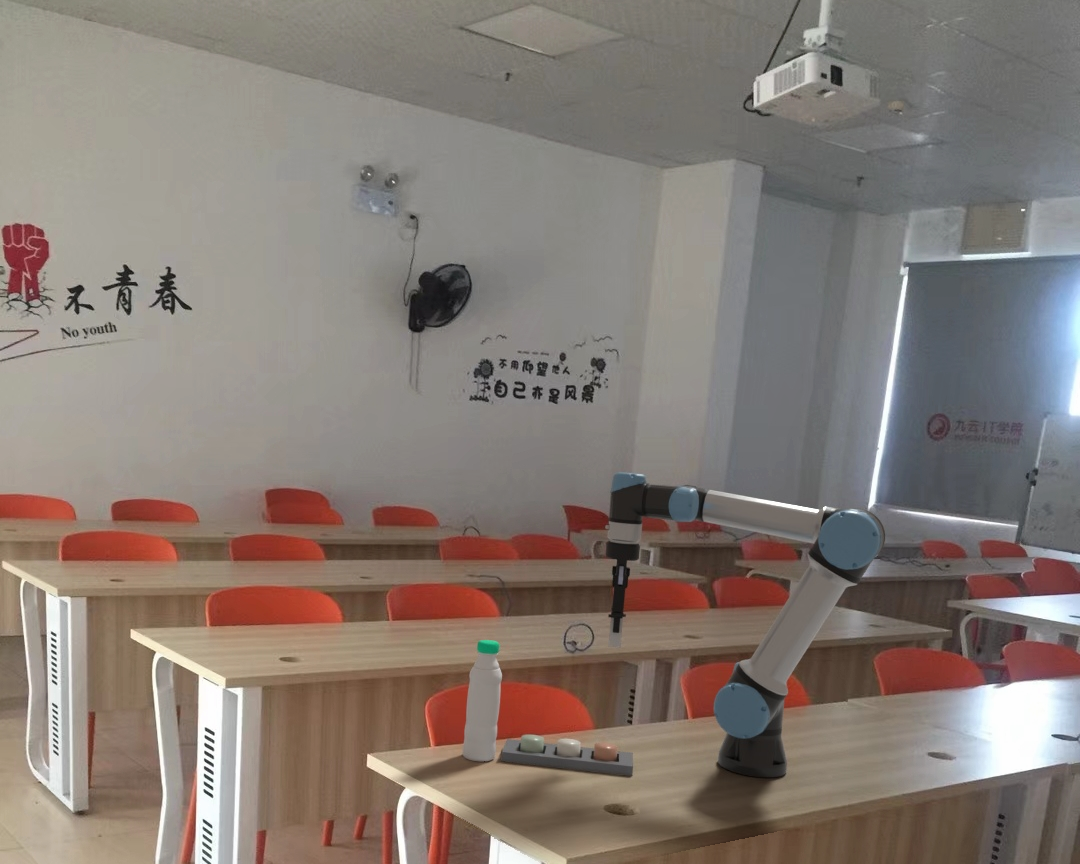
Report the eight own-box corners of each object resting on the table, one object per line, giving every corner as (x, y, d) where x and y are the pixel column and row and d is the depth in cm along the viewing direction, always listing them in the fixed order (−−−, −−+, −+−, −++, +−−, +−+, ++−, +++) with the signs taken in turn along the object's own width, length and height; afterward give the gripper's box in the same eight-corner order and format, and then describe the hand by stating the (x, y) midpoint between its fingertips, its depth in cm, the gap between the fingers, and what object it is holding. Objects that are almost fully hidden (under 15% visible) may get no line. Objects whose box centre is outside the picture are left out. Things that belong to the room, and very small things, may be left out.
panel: (631, 761, 234) (632, 752, 234) (632, 775, 224) (633, 766, 224) (506, 747, 236) (507, 738, 236) (501, 761, 226) (501, 751, 226)
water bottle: (490, 764, 223) (501, 646, 223) (458, 759, 225) (468, 642, 225) (498, 755, 230) (508, 640, 230) (466, 750, 232) (476, 636, 232)
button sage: (543, 754, 233) (544, 736, 233) (541, 761, 228) (543, 742, 228) (520, 751, 233) (522, 733, 233) (518, 758, 228) (520, 739, 228)
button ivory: (579, 758, 232) (581, 740, 232) (578, 765, 227) (580, 746, 227) (556, 755, 233) (558, 737, 233) (555, 762, 228) (557, 744, 228)
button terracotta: (616, 762, 232) (617, 744, 232) (615, 769, 227) (617, 750, 227) (593, 759, 232) (594, 741, 232) (592, 766, 227) (594, 748, 227)
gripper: (607, 537, 244) (598, 639, 244) (606, 542, 231) (597, 650, 231) (639, 540, 244) (630, 642, 244) (640, 545, 231) (631, 653, 231)
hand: (614, 646), depth 237 cm, fingers closed
